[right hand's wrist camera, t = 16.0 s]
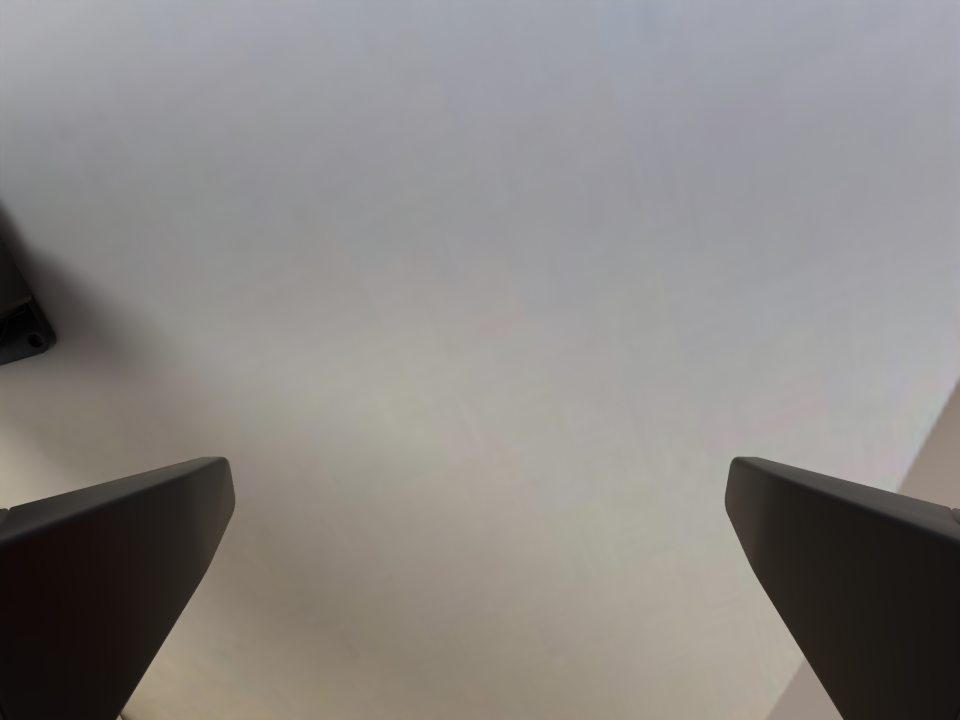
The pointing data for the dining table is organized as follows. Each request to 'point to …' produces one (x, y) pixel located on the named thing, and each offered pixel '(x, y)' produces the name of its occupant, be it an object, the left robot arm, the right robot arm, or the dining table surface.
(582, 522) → the dining table surface
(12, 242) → the dining table surface
